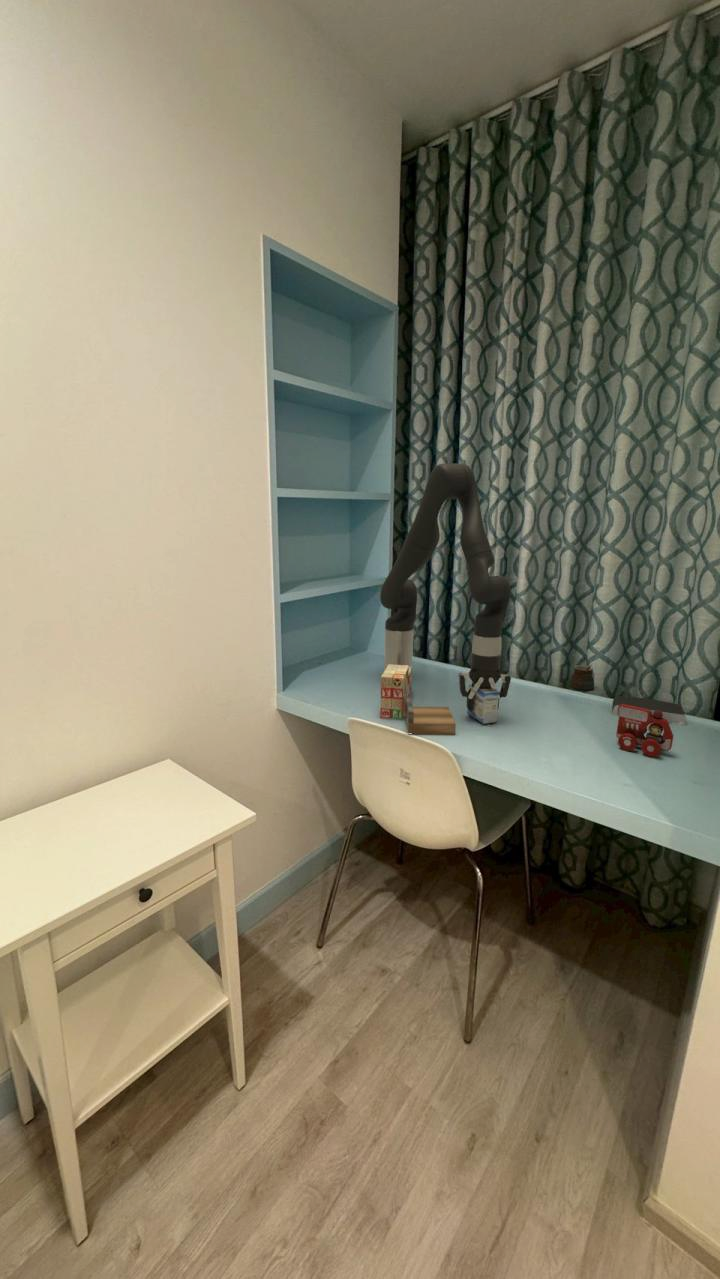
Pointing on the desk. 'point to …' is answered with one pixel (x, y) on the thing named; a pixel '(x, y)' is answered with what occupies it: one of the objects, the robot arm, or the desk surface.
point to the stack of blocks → (395, 690)
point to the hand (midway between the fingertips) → (482, 710)
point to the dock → (428, 720)
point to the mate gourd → (582, 678)
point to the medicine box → (485, 705)
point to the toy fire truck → (643, 730)
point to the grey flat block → (653, 708)
